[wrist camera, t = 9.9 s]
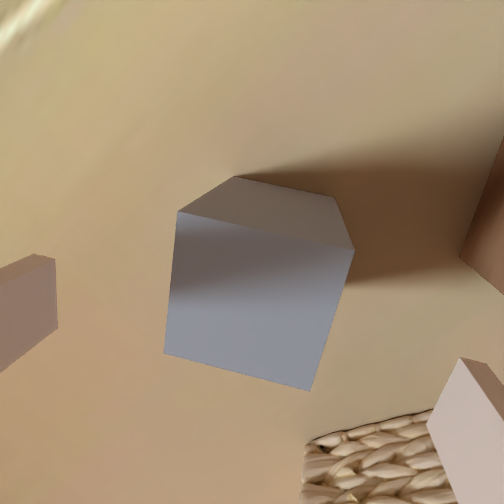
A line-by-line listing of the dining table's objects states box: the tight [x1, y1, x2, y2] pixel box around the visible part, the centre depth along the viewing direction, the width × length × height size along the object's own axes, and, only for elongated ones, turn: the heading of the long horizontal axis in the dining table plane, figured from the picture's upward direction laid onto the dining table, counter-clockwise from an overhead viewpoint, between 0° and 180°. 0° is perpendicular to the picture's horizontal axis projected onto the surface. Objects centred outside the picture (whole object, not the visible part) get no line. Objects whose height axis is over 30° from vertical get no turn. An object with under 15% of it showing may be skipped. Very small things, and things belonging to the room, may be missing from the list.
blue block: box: [164, 176, 355, 391], centre depth 16 cm, size 6×6×9 cm
